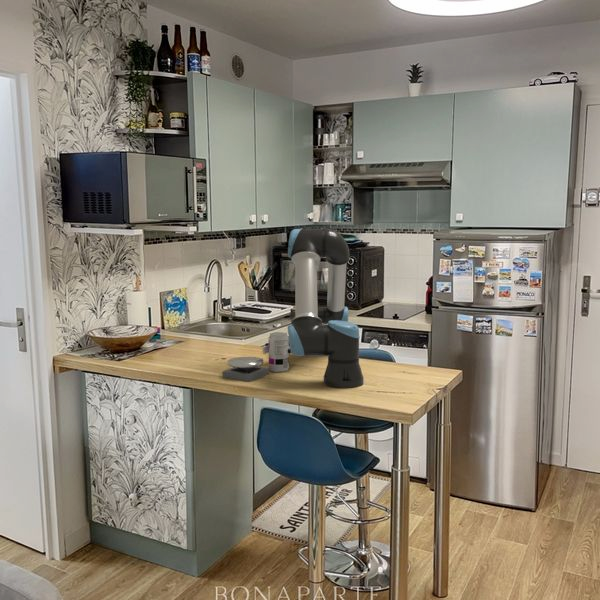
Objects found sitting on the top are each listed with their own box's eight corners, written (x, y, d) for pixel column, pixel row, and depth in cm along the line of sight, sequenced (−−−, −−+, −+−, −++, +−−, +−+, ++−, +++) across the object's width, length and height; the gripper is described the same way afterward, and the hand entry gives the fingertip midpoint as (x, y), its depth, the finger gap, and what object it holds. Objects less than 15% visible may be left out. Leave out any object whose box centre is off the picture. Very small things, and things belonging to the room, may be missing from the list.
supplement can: (265, 371, 259) (265, 335, 257) (273, 366, 266) (273, 331, 264) (284, 373, 256) (283, 336, 254) (291, 368, 263) (291, 332, 261)
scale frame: (268, 374, 254) (268, 367, 254) (250, 381, 243) (250, 375, 243) (242, 370, 261) (241, 364, 261) (222, 377, 250) (222, 371, 249)
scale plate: (270, 368, 254) (270, 359, 254) (250, 376, 242) (250, 366, 242) (241, 364, 261) (241, 355, 261) (220, 372, 249) (220, 362, 249)
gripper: (319, 352, 272) (297, 363, 252) (276, 347, 281) (250, 358, 260) (319, 334, 271) (296, 344, 251) (275, 331, 280) (250, 340, 259)
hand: (273, 351), depth 256 cm, fingers closed on supplement can, 8 cm apart
